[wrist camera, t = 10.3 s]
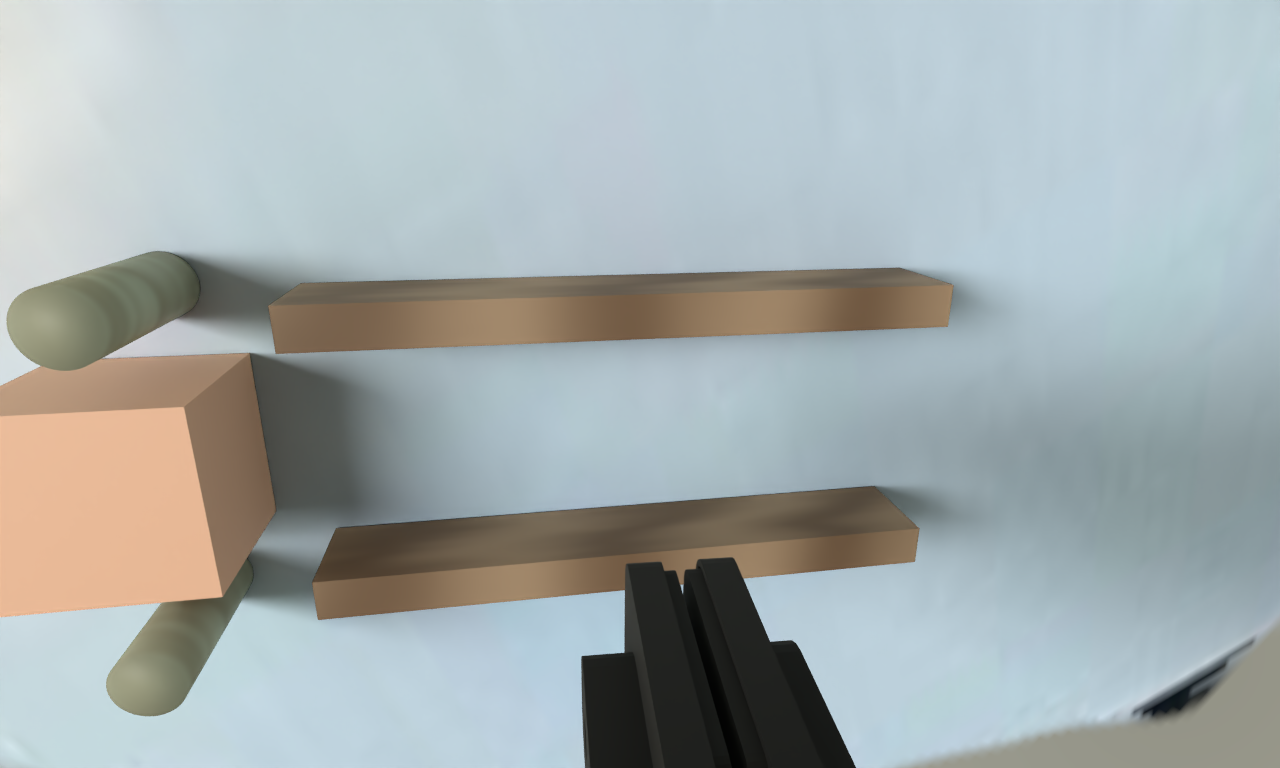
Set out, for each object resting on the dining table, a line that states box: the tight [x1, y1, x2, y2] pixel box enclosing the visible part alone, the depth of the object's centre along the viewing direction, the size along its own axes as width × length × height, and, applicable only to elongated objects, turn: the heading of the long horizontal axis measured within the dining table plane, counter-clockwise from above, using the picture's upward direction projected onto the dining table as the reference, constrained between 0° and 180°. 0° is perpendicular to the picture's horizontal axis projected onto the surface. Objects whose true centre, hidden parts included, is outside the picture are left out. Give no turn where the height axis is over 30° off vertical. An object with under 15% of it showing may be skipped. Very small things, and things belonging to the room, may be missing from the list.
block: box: [0, 353, 276, 617], centre depth 19 cm, size 5×5×4 cm
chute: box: [7, 251, 954, 716], centre depth 21 cm, size 22×11×5 cm, turn 90°
